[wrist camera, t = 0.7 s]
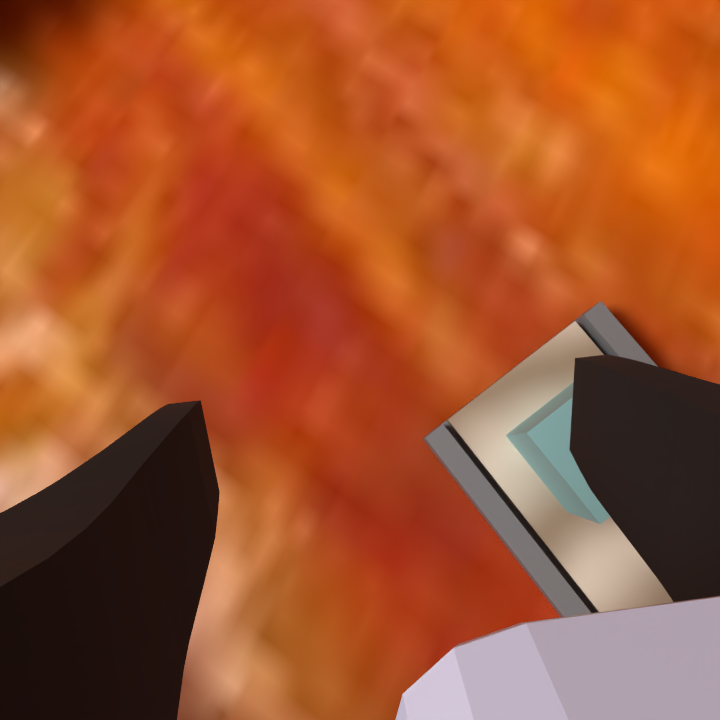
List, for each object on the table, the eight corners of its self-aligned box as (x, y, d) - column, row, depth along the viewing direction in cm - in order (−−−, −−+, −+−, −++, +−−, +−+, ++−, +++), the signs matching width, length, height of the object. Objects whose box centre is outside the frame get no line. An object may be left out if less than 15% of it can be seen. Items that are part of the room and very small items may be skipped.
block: (641, 453, 32) (688, 454, 27) (567, 512, 31) (600, 524, 26) (578, 378, 32) (612, 365, 27) (505, 435, 32) (526, 432, 27)
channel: (979, 769, 30) (1029, 796, 28) (799, 924, 30) (834, 965, 27) (586, 311, 35) (601, 301, 32) (422, 438, 34) (425, 437, 32)
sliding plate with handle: (784, 577, 31) (865, 604, 26) (654, 684, 31) (709, 734, 25) (569, 324, 34) (603, 301, 28) (446, 420, 33) (457, 415, 28)
